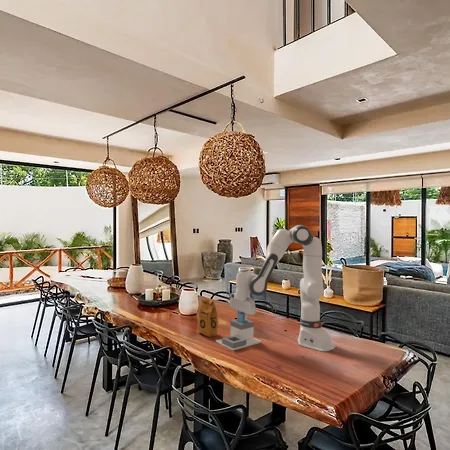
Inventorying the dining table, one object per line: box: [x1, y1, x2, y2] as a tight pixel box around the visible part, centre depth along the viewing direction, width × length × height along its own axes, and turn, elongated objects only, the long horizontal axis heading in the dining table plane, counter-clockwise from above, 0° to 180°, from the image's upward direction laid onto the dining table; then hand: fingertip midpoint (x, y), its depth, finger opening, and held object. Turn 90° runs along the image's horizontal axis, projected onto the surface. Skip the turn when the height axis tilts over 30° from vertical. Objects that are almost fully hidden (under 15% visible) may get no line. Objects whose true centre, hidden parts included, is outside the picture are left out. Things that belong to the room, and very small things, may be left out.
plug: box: [237, 311, 248, 323], centre depth 210 cm, size 4×4×9 cm
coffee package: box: [197, 298, 219, 338], centre depth 217 cm, size 10×12×22 cm
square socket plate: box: [215, 319, 262, 351], centre depth 204 cm, size 16×22×11 cm
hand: (242, 318), depth 210 cm, fingers closed on plug, 4 cm apart
